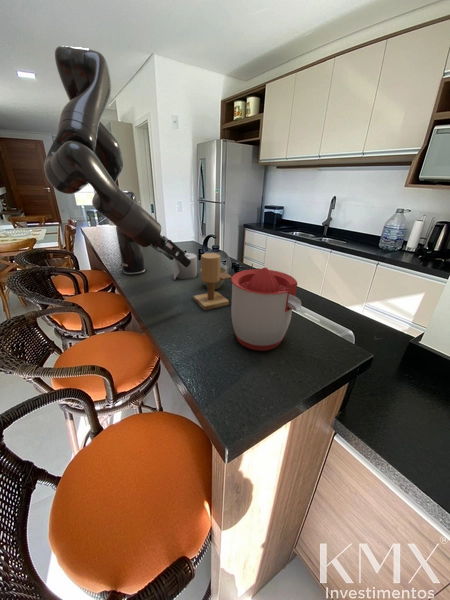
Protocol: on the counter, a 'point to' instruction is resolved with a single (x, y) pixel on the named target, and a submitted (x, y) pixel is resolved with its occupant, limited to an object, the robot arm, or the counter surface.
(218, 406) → the counter surface
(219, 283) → the beige bowl
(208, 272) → the cap
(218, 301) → the paper towel holder
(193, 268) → the toilet tissue
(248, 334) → the citrus juicer
